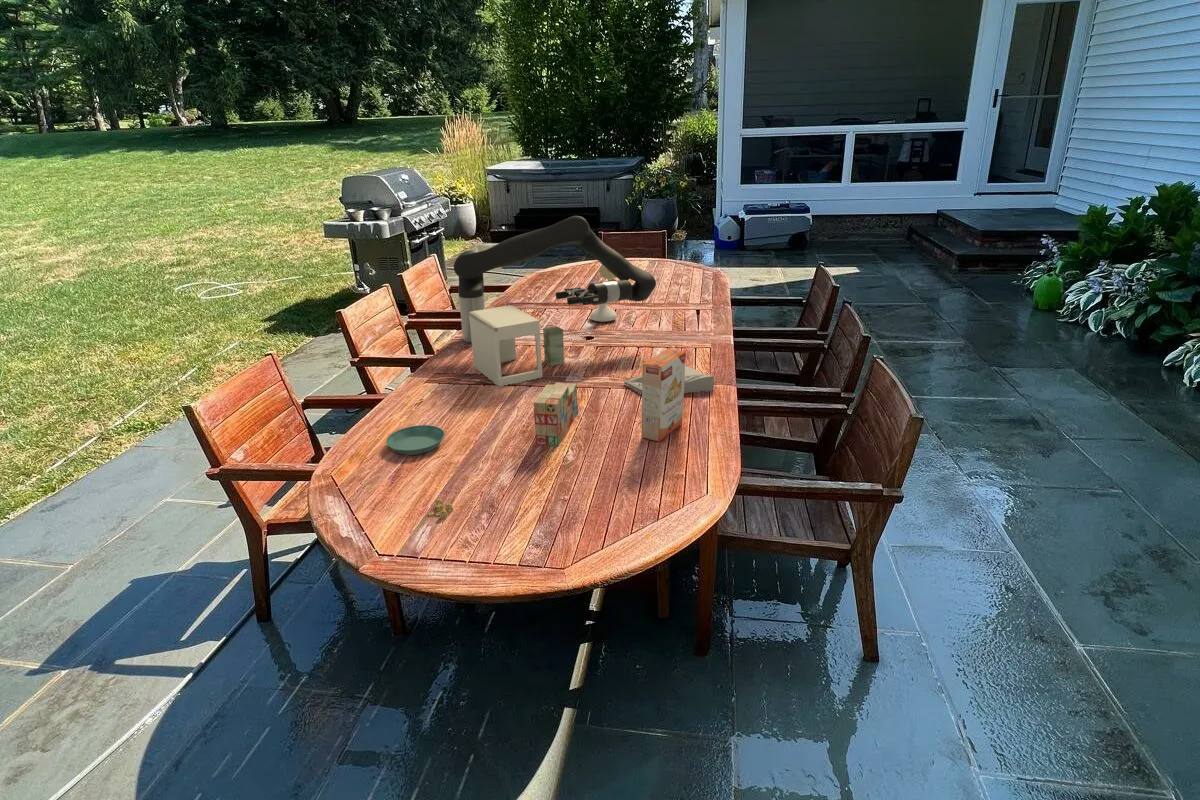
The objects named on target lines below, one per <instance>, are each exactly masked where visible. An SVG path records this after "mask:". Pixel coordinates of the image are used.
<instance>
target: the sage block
mask: <svg viewBox="0 0 1200 800" xmlns="http://www.w3.org/2000/svg"><path fill="white" fill-rule="evenodd" d="M542 333H543V350H544V351H543V353H544V363H546V362H547V364H548V365H549V364H550V366H556V365H560V364H565V352H564V351H565V349H564V329H563V328H561V327H559V326H558V325H553V326H548V327H543V328H542Z"/></svg>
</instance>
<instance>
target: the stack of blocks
mask: <svg viewBox="0 0 1200 800" xmlns="http://www.w3.org/2000/svg"><path fill="white" fill-rule="evenodd" d="M577 388H578V385H577V383H569V382H567V383H565V382H555V383H554V384H546V385H545V386H544V388H543V390H542V391H541V392H540V394H539V395H538V396H537V397H536V399H535V400H534V401H533V415H534V416H533V418H534V420H533V421H534V429H535V431H534V432H535V445H537V446H546V447H547V446H550V447H559V446H561V443H562V442H563V440H564V439H565V437H566V436H567V434H568V432H569V430H570V428H571V426H572V424H573V422H574V421H575V419H576V418H577V416H578V414H579V408H578V407H579V405H578V401H579V399H578V389H577Z"/></svg>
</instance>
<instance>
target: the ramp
mask: <svg viewBox="0 0 1200 800" xmlns="http://www.w3.org/2000/svg"><path fill="white" fill-rule="evenodd" d="M642 381H643V374H641V375H639V376H635V377H633V378H629V379H626V380H624V381H623V383H624V384H626V385H628V386H629V387H631V388H632V389H634V390H636V391H637V392H639V393H641V394H642ZM714 383H715V376H713V375H708V374H704V373H702V372H700V371H698V370H696V369H694V368H691V367H690V366H687V365H685V379H684V392H685V393H684V394H687V393H686V392H693V393H701V392H700V391H706V392H713V391H714ZM629 387H628V388H629ZM632 389H631V390H632ZM634 390H633V391H634ZM712 390H713V391H712ZM636 391H635V392H636ZM637 392H636V393H637ZM639 393H638V394H639ZM641 394H640V395H641Z"/></svg>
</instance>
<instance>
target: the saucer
mask: <svg viewBox="0 0 1200 800" xmlns="http://www.w3.org/2000/svg"><path fill="white" fill-rule="evenodd" d="M445 435H446V434H445V431H444V430H443V428H441V427H438V426H435V425H428V424H427V425H426V424H422V425H413V426H408V427H404V428H401V429H398V430H396V431H394V432H392V433H391V434H389V435H388V436H387V438H386V439H385V443H386V445H387V446H388V447H389V448H390V449H391V450H393V451H394V452H396V453H398V454H401V455H405V456H414V455H421V454H425V453H429V452H430V451H433V450H434V449H436V448H437V447H438V446H439V445H440V444H441V442H442V441H443V440H444V438H445Z"/></svg>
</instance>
